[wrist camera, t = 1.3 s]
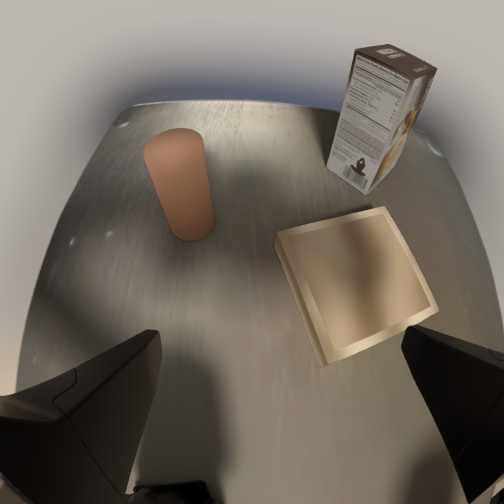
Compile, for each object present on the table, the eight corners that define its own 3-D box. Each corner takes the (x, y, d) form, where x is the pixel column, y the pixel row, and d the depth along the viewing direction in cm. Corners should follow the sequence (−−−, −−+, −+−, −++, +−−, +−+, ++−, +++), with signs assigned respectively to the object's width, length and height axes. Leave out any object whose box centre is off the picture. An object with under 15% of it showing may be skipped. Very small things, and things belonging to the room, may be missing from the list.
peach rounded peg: (174, 246, 26) (144, 173, 17) (168, 210, 28) (143, 136, 20) (219, 234, 27) (208, 157, 18) (209, 199, 29) (197, 123, 20)
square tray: (319, 367, 21) (328, 364, 19) (274, 245, 26) (276, 231, 24) (425, 318, 23) (439, 310, 20) (375, 219, 28) (384, 205, 26)
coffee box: (358, 141, 35) (388, 42, 21) (395, 165, 33) (438, 68, 19) (323, 168, 32) (353, 47, 18) (366, 198, 30) (418, 78, 16)
